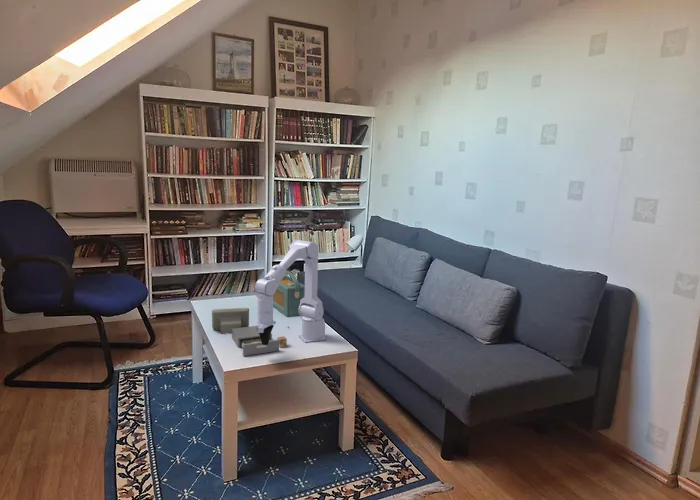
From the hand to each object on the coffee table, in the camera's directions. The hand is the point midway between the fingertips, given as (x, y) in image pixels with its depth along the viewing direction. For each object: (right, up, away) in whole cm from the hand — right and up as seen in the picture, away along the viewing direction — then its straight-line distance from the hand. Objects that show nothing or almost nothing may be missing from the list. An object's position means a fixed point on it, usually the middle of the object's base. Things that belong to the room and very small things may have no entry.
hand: (265, 344), depth 180 cm
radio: (0, +5, +63) cm, 63 cm away
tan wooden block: (+4, -4, +14) cm, 15 cm away
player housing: (-9, -2, +19) cm, 21 cm away
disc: (-5, -3, +11) cm, 12 cm away
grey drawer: (-5, -4, +11) cm, 13 cm away
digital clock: (-21, 0, +30) cm, 37 cm away
